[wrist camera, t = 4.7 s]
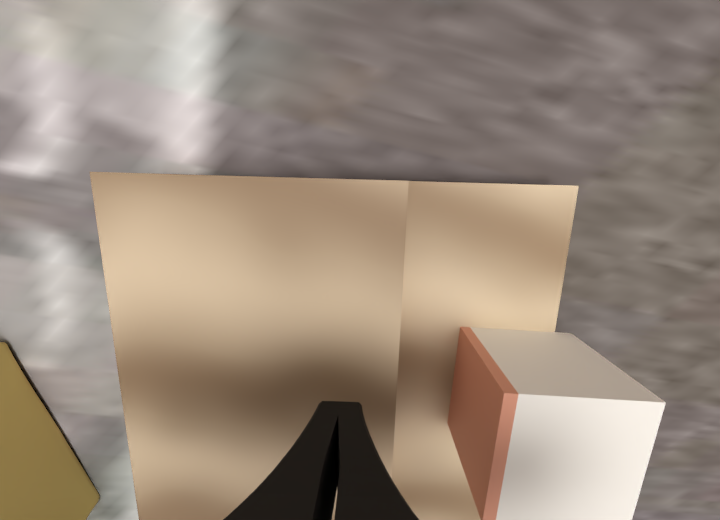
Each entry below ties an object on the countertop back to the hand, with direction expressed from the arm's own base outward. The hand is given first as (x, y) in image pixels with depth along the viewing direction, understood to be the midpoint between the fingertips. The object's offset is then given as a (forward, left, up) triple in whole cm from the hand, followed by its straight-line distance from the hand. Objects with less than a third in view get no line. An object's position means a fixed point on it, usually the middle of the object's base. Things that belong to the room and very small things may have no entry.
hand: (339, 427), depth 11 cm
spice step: (0, 0, -5) cm, 5 cm away
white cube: (0, -4, -1) cm, 5 cm away
